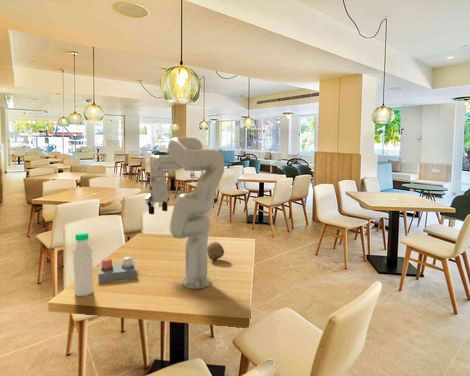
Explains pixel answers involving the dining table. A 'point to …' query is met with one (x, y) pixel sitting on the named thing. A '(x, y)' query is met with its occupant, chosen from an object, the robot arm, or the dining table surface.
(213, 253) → the natural sponge
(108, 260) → the red plug
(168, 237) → the dining table surface
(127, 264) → the domed peg
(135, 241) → the dining table surface
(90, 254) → the water bottle
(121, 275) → the panel
